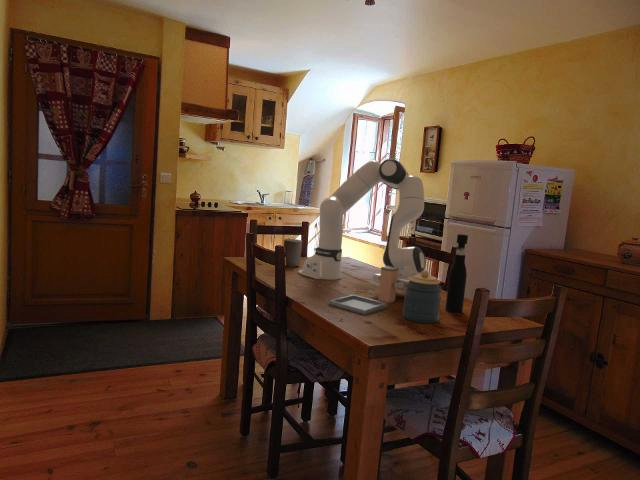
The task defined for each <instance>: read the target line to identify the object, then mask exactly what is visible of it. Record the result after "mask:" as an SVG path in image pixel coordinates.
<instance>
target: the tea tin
mask: <svg viewBox="0 0 640 480" xmlns="http://www.w3.org/2000/svg"><path fill="white" fill-rule="evenodd" d="M398 270H399V268H395V267H390V266H385V265H384V266H380V273H381V276H380V284H379V288H378V298H377V299H378V300H377V301H381V302H384V303H387V304H389V303H392V302H395V301H396V295H397V288H394V287H393V283H397V277H398Z"/></svg>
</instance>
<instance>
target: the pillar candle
mask: <svg viewBox="0 0 640 480" xmlns="http://www.w3.org/2000/svg"><path fill="white" fill-rule="evenodd" d="M302 245H303V240H300V239H295V238H284V239H283V247H285V251H286V266H285V267H287V266H290V268H296V267H295V266H299V267H301V258H302V257H301V255H302V248H303V247H302Z"/></svg>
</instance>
